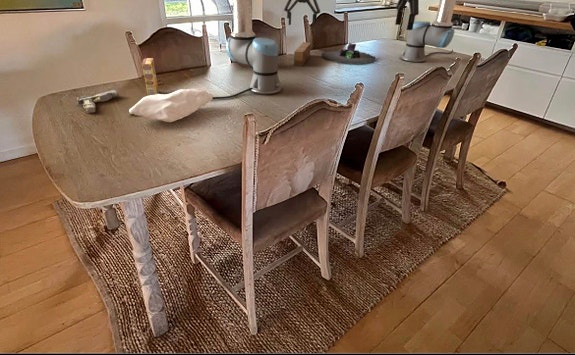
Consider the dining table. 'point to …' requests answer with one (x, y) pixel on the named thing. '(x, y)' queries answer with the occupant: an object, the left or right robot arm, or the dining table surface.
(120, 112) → the dining table surface
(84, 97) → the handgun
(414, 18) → the right robot arm
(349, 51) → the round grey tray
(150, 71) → the candy box
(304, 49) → the bar
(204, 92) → the crumpled cloth
